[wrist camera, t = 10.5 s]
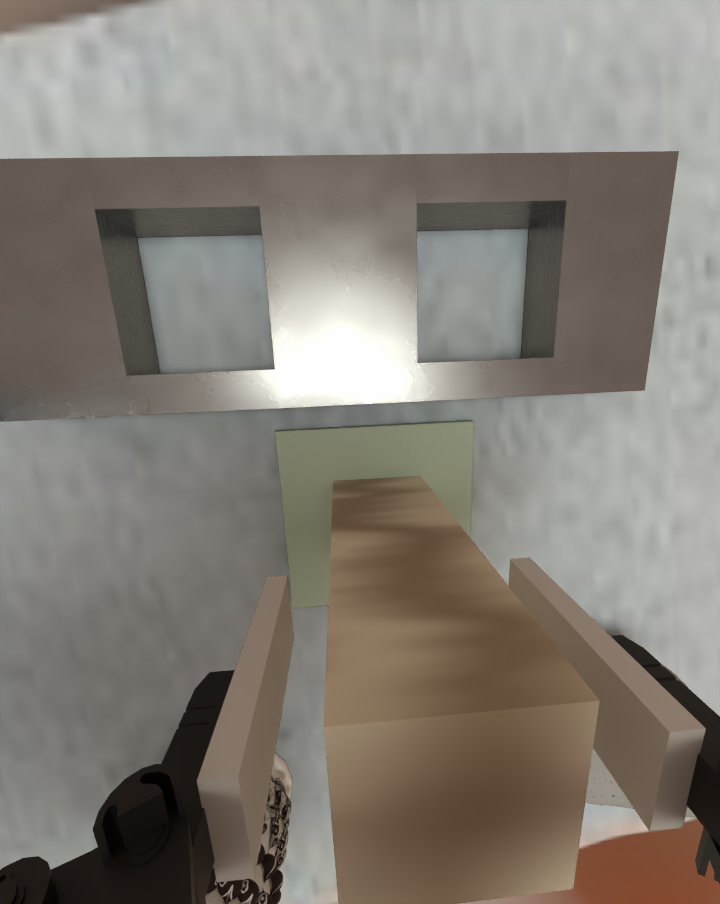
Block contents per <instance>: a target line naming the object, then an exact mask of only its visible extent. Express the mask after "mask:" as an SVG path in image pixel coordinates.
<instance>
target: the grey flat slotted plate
mask: <svg viewBox="0 0 720 904" xmlns="http://www.w3.org/2000/svg"><path fill="white" fill-rule="evenodd" d="M678 153H679V151H667V152H578V153H489V154H400V155H311V156H222V157H133V158H44V159H0V421H1V422H6V421H26V420H47V419H67V418H88V417H108V416H129V415H149V414H170V413H190V412H211V411H231V410H252V409H272V408H293V407H313V406H334V405H354V404H375V403H395V402H416V401H436V400H457V399H477V398H498V397H518V396H539V395H559V394H580V393H600V392H621V391H641V390H645V383H646V376H647V369H648V362H649V355H650V348H651V341H652V334H653V327H654V320H655V313H656V306H657V299H658V292H659V285H660V278H661V271H662V264H663V257H664V250H665V243H666V236H667V230H668V223H669V216H670V209H671V202H672V195H673V188H674V181H675V174H676V167H677V160H678ZM523 228H529V237H528V253H527V269H526V285H525V302H524V318H523V334H522V350H521V359H505V360H482V361H459V362H435V363H417V231H436V230H480V229H523ZM261 234H262V239H263V249H264V260H265V270H266V280H267V291H268V301H269V312H270V322H271V333H272V343H273V353H274V364H275V369H273V370H249V371H226V372H203V373H179V374H160V371H159V365H158V360H157V354H156V348H155V342H154V336H153V330H152V324H151V318H150V313H149V307H148V301H147V295H146V289H145V283H144V277H143V271H142V266H141V260H140V254H139V248H138V242H137V237H174V236H218V235H261Z"/></svg>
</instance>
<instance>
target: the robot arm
mask: <svg viewBox="0 0 720 904" xmlns="http://www.w3.org/2000/svg"><path fill="white" fill-rule="evenodd" d="M509 587H510V589H511V590H512V591H513V592H514V594H515V595H516V596H517V597H518V599H519V600H520V601H521V602H522V604H523V605H524V606H525V608H526V609H527V610H528V611H529V613H530V614H531V615H532V616H533V618H534V619H535V620H536V621H537V623H538V624H539V625H540V626H541V628H542V629H543V630H544V631H545V633H546V634H547V635H548V636H549V638H550V639H551V640H552V641H553V643H554V644H555V645H556V646H557V648H558V649H559V650H560V651H561V653H562V654H563V655H564V656H565V658H566V659H567V660H568V661H569V663H570V664H571V665H572V667H573V668H574V669H575V670H576V672H577V673H578V674H579V675H580V677H581V678H582V679H583V680H584V682H585V683H586V684H587V685H588V687H589V688H590V689H591V690H592V692H593V693H594V694H595V695H596V697H597V698H598V699H599V700H600V702H599V709H598V716H597V723H596V730H595V737H594V744H593V749H594V750H595V752H596V753H597V755H598V756H599V757H600V759H601V760H602V762H603V763H604V765H605V766H606V768H607V769H608V771H609V772H610V774H611V775H612V777H613V778H614V780H615V781H616V783H617V784H618V785H619V787H620V788H621V790H622V791H623V793H624V794H625V796H626V797H627V799H628V800H629V802H630V803H631V805H632V806H633V808H634V809H635V811H636V812H637V813H638V815H639V816H640V818H641V819H642V821H643V822H644V824H645V825H646V827H647V828H648V830H649V831H657V830H665V829H673V828H682V827H683V824H684V820H685V816H686V811H687V807H688V808H689V809H690V810H691V811H692V813H693V814H694V815H695V816H696V817H697V819H698V820H699V821H700V822H701V824H702V825H703V826H704V828H703V832H702V836H701V840H700V844H699V848H698V852H697V855H696V860H695V862H696V866H697V872H698V874H700V875H702V876H705V874H706V870H707V866H708V862H709V860H710V862H711V864H712V867H713V869H714V872H715V873H714V879H715V880H716V881H718V882H719V883H720V717H719V716H718V715H717V714H716V713H715V712H714V711H713V710H712V709H711V708H709V707H708V706H707V705H706V704H705V703H704V702H703V701H702V700H701V699H700V698H698V697H697V696H696V695H695V694H694V693H693V692H692V691H691V690H690V689H688V688H687V687H686V686H685V685H684V684H683V683H682V682H681V681H680V680H677V679H676V677H675V676H674V675H673V674H672V673H671V672H670V671H669V670H667V669H666V668H665V667H662V666H661V663H660V662H659V661H657V660H656V659H655V658H654V657H653V656H652V655H651V654H650V653H649V652H647V651H646V650H645V649H644V648H643V647H641V646H639V645H638V644H636V643H634V642H633V641H631V640H629V639H628V638H626V637H624V636H623V635H619V636H610V635H609V634H608V633H607V632H606V631H605V630H604V629H603V628H602V627H601V626H600V625H599V624H597V623H596V622H595V621H594V620H593V619H592V618H591V617H590V616H589V615H588V614H587V613H586V612H585V611H584V610H583V609H582V608H581V607H580V606H579V605H578V604H577V603H576V602H575V601H574V600H573V599H572V598H571V597H570V596H569V595H568V594H567V593H566V592H564V591H563V590H562V589H561V588H560V587H559V586H558V585H557V584H556V583H555V582H554V581H553V580H552V579H551V578H550V577H549V576H548V575H547V574H546V573H545V572H544V571H543V570H542V569H541V568H540V567H539V566H538V565H537V564H536V563H535V562H534V561H533V560H531V559H530V558H518V559H510V572H509ZM293 640H294V636H293V626H292V616H291V606H290V596H289V586H288V576H274V577H267V578H266V581H265V583H264V586H263V589H262V592H261V595H260V598H259V601H258V604H257V607H256V610H255V613H254V616H253V618H252V621H251V624H250V627H249V630H248V633H247V636H246V639H245V642H244V645H243V648H242V651H241V653H240V656H239V659H238V662H237V665H236V668H235V670H231V671H219V672H209V674H208V675H207V676H206V677H205V678H204V679H203V680H202V682H201V683H200V684H199V685H198V686H197V687H196V689H195V690H194V692H193V694H192V697H191V699H190V701H189V703H188V706H187V708H186V712H185V713H184V715H183V717H182V719H181V721H180V724H179V728H178V729H177V730H176V732H175V735H174V737H173V739H172V741H171V744H170V746H169V748H168V750H167V753H166V755H165V757H164V759H163V761H162V764H155V765H151V766H148V767H145V768H142V769H140V770H139V771H137V772H135V773H134V774H132V775H131V776H129V777H128V778H126V779H125V780H124V781H123V782H122V783H121V784H120V785H119V786H118V787H117V788H116V789H115V790H114V791H113V792H112V793H111V794H110V795H109V797H108V798H107V800H106V801H105V803H104V804H103V806H102V807H101V809H100V810H99V812H98V815H97V818H96V821H95V824H94V827H93V832H94V835H95V838H96V842H97V845H98V848H96V849H94V850H92V851H90V852H88V853H86V854H84V855H82V856H79V857H77V858H75V859H73V860H71V861H69V862H67V863H65V864H62V865H60V866H58V867H56V868H54V869H52V870H50V867H49V864H48V862H46V861H45V860H43V859H42V858H40V857H39V856H37V857H28V858H22V859H20V860H18V861H16V862H14V863H12V864H10V865H8V866H6V867H4V868H2V869H1V870H0V904H206V899H205V897H206V893H207V889H208V885H209V881H210V877H211V873H212V869H213V866H214V871H215V876H216V881H217V882H225V881H234V880H242V879H251V878H255V873H256V867H257V860H258V854H259V848H260V842H261V836H262V830H263V824H264V817H265V811H266V805H267V799H268V793H269V787H270V781H271V775H272V768H273V762H274V756H275V750H276V744H277V738H278V732H279V726H280V719H281V713H282V707H283V701H284V695H285V689H286V683H287V676H288V670H289V664H290V658H291V652H292V646H293Z"/></svg>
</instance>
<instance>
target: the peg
mask: <svg viewBox="0 0 720 904" xmlns="http://www.w3.org/2000/svg"><path fill="white" fill-rule="evenodd" d="M599 702H600V700H599V699H598V698H597V697H596V695H595V694H594V693H593V692H592V690H591V689H590V688H589V687H588V685H587V684H586V683H585V682H584V680H583V679H582V678H581V677H580V675H579V674H578V673H577V672H576V670H575V669H574V668H573V667H572V665H571V664H570V663H569V661H568V660H567V659H566V658H565V656H564V655H563V654H562V653H561V651H560V650H559V649H558V648H557V646H556V645H555V644H554V643H553V641H552V640H551V639H550V638H549V636H548V635H547V634H546V633H545V631H544V630H543V629H542V628H541V626H540V625H539V624H538V623H537V621H536V620H535V619H534V618H533V616H532V615H531V614H530V613H529V611H528V610H527V609H526V608H525V606H524V605H523V604H522V602H521V601H520V600H519V599H518V597H517V596H516V595H515V594H514V592H513V591H512V590H511V589H510V587H509V586H508V585H507V584H506V582H505V581H504V580H503V579H502V577H501V576H500V575H499V574H498V572H497V571H496V570H495V569H494V567H493V566H492V565H491V564H490V562H489V561H488V560H487V559H486V557H485V556H484V555H483V554H482V552H481V551H480V550H479V548H478V547H477V546H476V545H475V543H474V542H473V541H472V540H471V538H470V537H469V536H468V535H467V533H466V532H465V531H464V530H463V528H462V527H461V526H460V525H459V523H458V522H457V521H456V520H455V518H454V517H453V516H452V515H451V513H450V512H449V511H448V510H447V508H446V507H445V506H444V505H443V503H442V502H441V501H440V500H439V498H438V497H437V496H436V495H435V493H434V492H433V491H432V489H431V488H430V487H429V486H428V484H427V483H426V482H425V481H424V479H423V478H422V477H421V476H406V477H389V478H372V479H356V480H339V481H333V498H332V525H331V551H330V578H329V604H328V631H327V657H326V684H325V710H324V735H325V747H326V759H327V771H328V783H329V795H330V807H331V819H332V831H333V843H334V854H335V866H336V878H337V890H338V902H339V904H457V903H466V902H473V901H481V900H489V899H497V898H505V897H513V896H521V895H529V894H537V893H545V892H553V891H561V890H569V889H573V884H574V876H575V870H576V863H577V856H578V849H579V842H580V835H581V828H582V821H583V814H584V807H585V800H586V793H587V786H588V779H589V772H590V765H591V758H592V751H593V744H594V737H595V730H596V723H597V716H598V709H599Z"/></svg>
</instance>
